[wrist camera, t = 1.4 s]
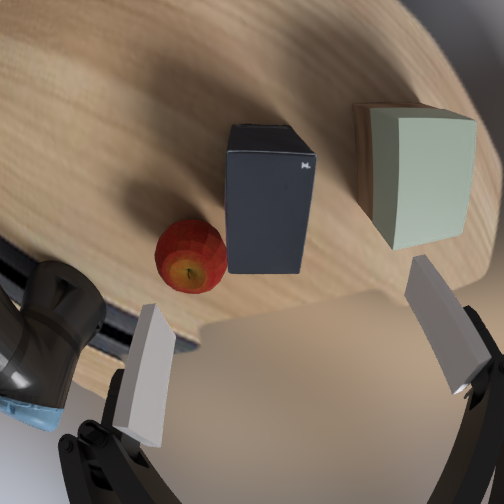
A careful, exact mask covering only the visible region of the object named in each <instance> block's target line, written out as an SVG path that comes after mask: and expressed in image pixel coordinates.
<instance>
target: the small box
mask: <svg viewBox="0 0 504 504" xmlns="http://www.w3.org/2000/svg"><path fill="white" fill-rule="evenodd" d="M316 163H317V155H316V154H315V153H314V152H313V151H312V150H311V149H310V148H309V147H308V145H307V144H306V143H305V142H304V141H303V140H302V139H301V138H300V137H299V136H298V135H297V134H296V132H295V131H294V130H293V128H292V127H291V126H290V125H289V126H287V125H283V126H278V125H275V126H274V125H252V124H239V125H232V127H231V132H230V137H229V142H228V147H227V153H226V165H225V225H226V248H227V262H228V272H229V273H230V274H299V273H300V268H301V262H302V257H303V251H304V245H305V239H306V233H307V227H308V221H309V214H310V206H311V200H312V193H313V187H314V179H315V170H316Z"/></svg>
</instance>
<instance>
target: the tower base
mask: <svg viewBox="0 0 504 504" xmlns="http://www.w3.org/2000/svg"><path fill="white" fill-rule="evenodd" d="M370 108H434V109H439V108H435V107H432V106H429V105H425V104H422V103H353V112H354V123H355V136H356V152H357V175H358V205H359V206H360V207H361V208H362V210H363V211H364V212H365V213H366V215H367V216H368V217H369V218H370V220H371V221H373V146H372V128H371V115H370Z"/></svg>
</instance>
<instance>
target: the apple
mask: <svg viewBox="0 0 504 504" xmlns="http://www.w3.org/2000/svg"><path fill="white" fill-rule="evenodd" d="M155 262H156V266H157V270H158V273H159V275H160V276H161V277H162V279H163V280H164V282H165V283H166V284H167V285H169V286H170V287H172V288H173V289H174V290H176V291H180V292H184V293H191V294H200V293H203V292H207V291H210V290H211V289H213V288H214V287H215V286H216V285H217V284H218V283H219V282H220V281H221V279H222V277H223V275H224V273H225V271H226V268H227V249H226V246H225V244H224V242H223V240H222V238H221V236H220V234H219V232H218V231H217V230H216V229H215V228H214V227H213V226H212V225H210V224H209V223H208V222H204V221H201V220H197V219H185V220H182V221H179V222H176V223H173V224H172V225H170V226H169V227H168V229H167V230H166V231H165V232H164V233H163V234H162V235H161V236H160V238H159V240H158V243H157V246H156V251H155Z"/></svg>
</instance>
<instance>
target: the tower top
mask: <svg viewBox="0 0 504 504" xmlns="http://www.w3.org/2000/svg"><path fill="white" fill-rule="evenodd" d="M370 115H371V128H372V146H373V221H372V223H373V224H374V226H375V227H376V228H377V230H378V231H379V232H380V234H381V235H382V236H383V238H384V239H385V240H386V242H387V243H388V245H389V246H390V247H391V249H392V250H398V249H402V248H407V247H411V246H416V245H420V244H424V243H429V242H433V241H437V240H442V239H446V238H450V237H454V236H458V235H462V232H463V227H464V223H465V218H466V213H467V208H468V203H469V197H470V191H471V184H472V177H473V169H474V160H475V148H476V130H477V121H476V120H474V119H471V118H468V117H466V116H463V115H460V114H457V113H454V112H452V111H448V110H445V109H434V108H370Z"/></svg>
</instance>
